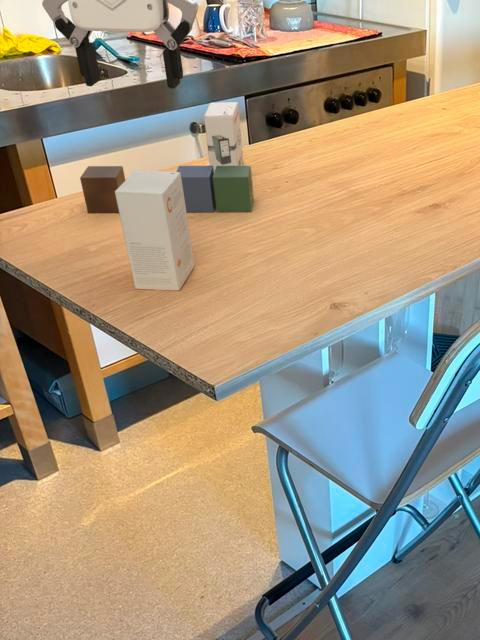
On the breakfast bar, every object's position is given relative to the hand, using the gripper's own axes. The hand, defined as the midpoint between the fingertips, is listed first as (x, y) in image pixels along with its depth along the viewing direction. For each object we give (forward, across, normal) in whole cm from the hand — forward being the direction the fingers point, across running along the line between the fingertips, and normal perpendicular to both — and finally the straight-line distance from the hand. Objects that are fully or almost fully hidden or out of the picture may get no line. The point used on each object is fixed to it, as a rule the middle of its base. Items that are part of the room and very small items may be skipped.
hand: (133, 84), depth 96 cm
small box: (+24, 0, 0) cm, 24 cm away
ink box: (+24, +1, +39) cm, 46 cm away
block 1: (+24, -16, +26) cm, 39 cm away
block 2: (+24, -2, +27) cm, 36 cm away
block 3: (+24, +4, +28) cm, 37 cm away
